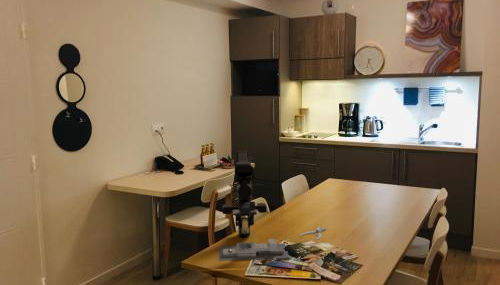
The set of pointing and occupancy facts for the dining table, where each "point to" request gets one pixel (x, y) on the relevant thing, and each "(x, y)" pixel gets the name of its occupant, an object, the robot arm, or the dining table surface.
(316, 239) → the pliers
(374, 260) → the dining table surface
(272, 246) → the metal latch plate
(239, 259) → the gray rectangular board
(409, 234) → the dining table surface
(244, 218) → the brass pin
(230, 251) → the grey slotted plate
